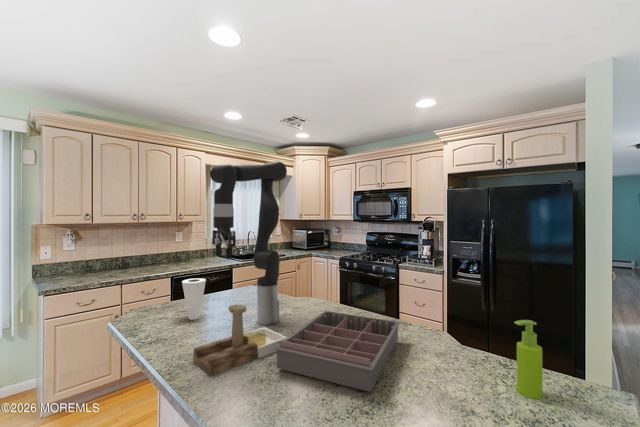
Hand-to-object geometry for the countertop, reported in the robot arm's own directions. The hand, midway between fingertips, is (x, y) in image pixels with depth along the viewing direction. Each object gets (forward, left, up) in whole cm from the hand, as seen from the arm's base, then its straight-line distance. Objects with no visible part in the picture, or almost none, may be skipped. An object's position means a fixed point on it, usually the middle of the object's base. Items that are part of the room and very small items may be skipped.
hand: (223, 257), depth 118 cm
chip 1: (-2, +14, -31) cm, 34 cm away
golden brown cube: (-6, +14, -32) cm, 36 cm away
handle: (+2, +14, -31) cm, 34 cm away
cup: (-3, -35, -33) cm, 48 cm away
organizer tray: (-24, +41, -34) cm, 58 cm away
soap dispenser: (-43, +92, -33) cm, 107 cm away
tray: (-8, +14, -33) cm, 37 cm away
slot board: (+7, +14, -33) cm, 37 cm away
